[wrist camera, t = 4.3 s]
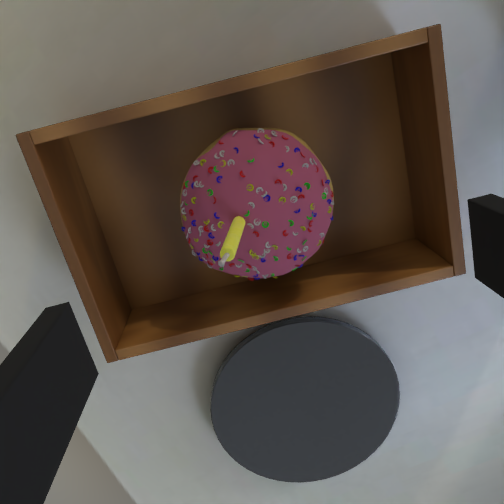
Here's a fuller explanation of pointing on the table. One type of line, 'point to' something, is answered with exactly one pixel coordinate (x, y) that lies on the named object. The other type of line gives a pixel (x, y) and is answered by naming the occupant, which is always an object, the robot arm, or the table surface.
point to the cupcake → (256, 203)
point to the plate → (304, 399)
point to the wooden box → (257, 116)
